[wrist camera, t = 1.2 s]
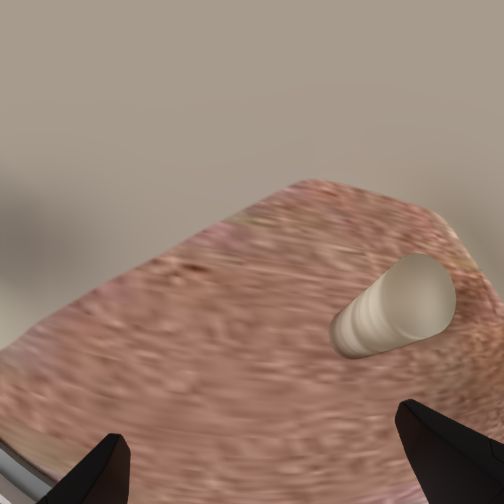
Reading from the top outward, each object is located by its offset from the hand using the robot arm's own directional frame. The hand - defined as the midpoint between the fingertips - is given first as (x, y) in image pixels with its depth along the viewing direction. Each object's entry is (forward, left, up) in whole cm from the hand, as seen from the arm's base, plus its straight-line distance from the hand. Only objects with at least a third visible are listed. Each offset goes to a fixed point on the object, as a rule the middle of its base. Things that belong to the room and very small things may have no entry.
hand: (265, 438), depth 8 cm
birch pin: (-7, -7, -14) cm, 17 cm away
